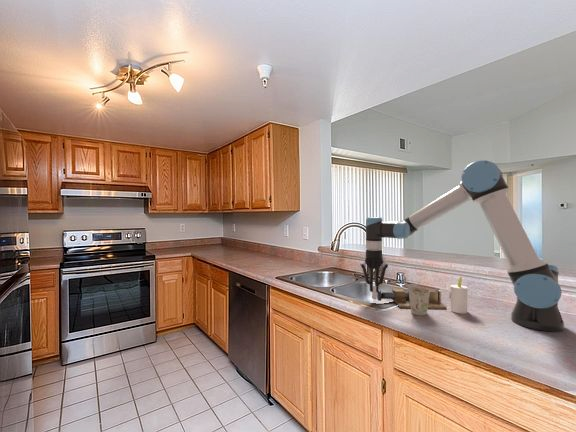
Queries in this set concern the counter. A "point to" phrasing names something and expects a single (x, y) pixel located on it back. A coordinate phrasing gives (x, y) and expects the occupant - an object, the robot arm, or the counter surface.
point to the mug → (419, 300)
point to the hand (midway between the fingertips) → (373, 298)
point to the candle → (458, 298)
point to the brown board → (400, 299)
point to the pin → (388, 295)
